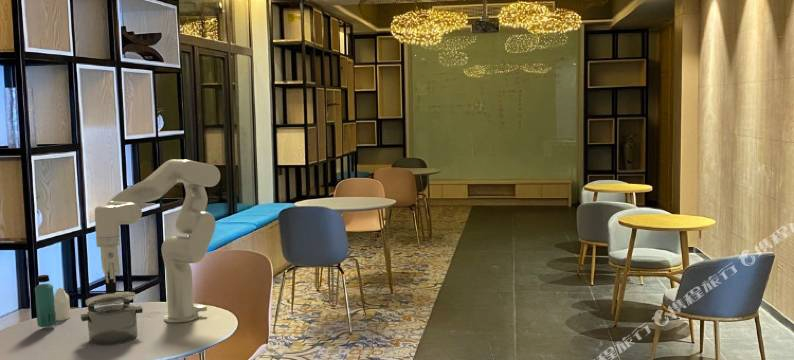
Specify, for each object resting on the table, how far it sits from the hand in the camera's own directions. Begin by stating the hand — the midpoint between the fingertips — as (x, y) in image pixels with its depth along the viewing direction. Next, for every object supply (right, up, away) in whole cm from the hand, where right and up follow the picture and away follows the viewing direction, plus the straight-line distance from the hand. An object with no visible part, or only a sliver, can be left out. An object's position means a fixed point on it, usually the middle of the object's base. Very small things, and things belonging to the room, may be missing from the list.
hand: (111, 293), depth 268 cm
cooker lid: (-2, -3, +4) cm, 5 cm away
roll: (-31, -15, +32) cm, 47 cm away
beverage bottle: (-31, -16, +19) cm, 40 cm away
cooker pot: (-1, -16, +5) cm, 17 cm away
